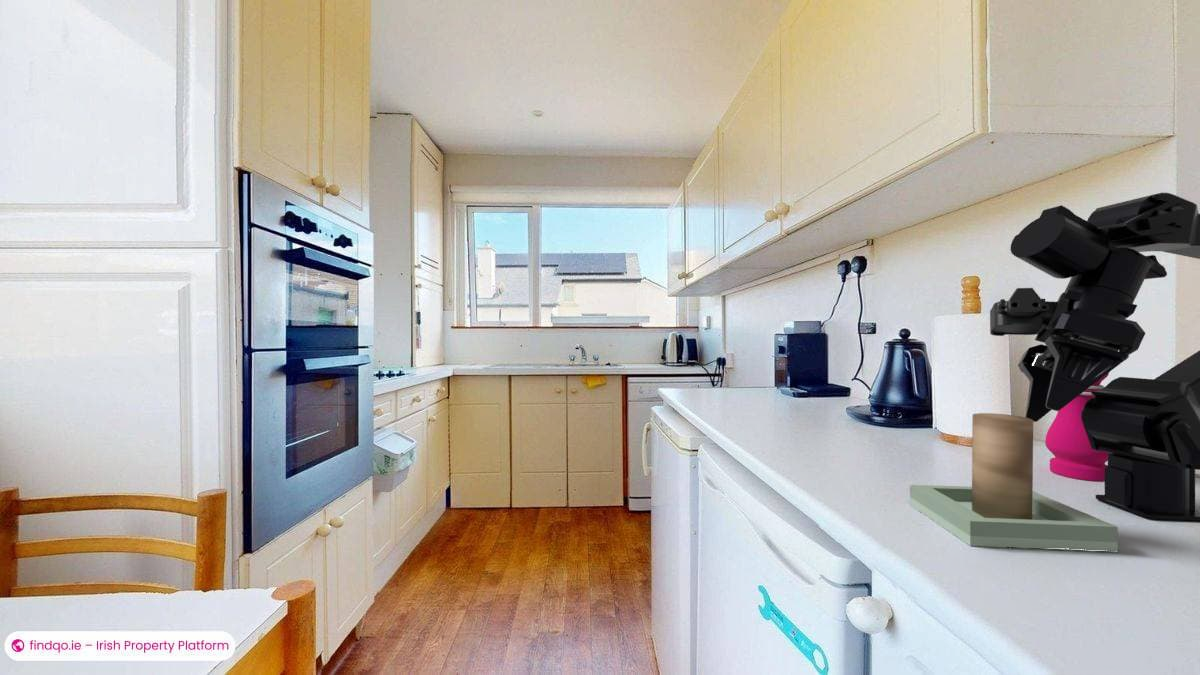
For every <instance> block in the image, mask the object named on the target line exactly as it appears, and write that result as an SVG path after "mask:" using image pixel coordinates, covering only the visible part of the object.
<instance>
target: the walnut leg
mask: <svg viewBox="0 0 1200 675" xmlns="http://www.w3.org/2000/svg"><path fill="white" fill-rule="evenodd" d="M971 425H972V426H971V427H972V428H971V429H972V433H971V434H972V436H971V437H972V438H971V439H972V440H971V442H972V446H971V450H972V452H971V453H972V454H971V456H972V457H971V467H972V468H971V487H972V511H974V512H975V513H977V514H979V515H981V516H982V517H984V518H1000V519H1026V520H1032V497H1033V491H1034V490H1033V488H1034V485H1033V484H1034V483H1033V482H1034V481H1033V480H1034V476H1033V474H1034V473H1033V472H1034V422H1033V420H1032V419H1029V418H1026V417H1025V416H1019V415H1014V414H1003V413H993V412H991V413H989V412H984V413H983V412H981V413H980V412H977V413H972V424H971Z"/></svg>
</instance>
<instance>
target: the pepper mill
mask: <svg viewBox="0 0 1200 675" xmlns="http://www.w3.org/2000/svg"><path fill="white" fill-rule="evenodd" d="M1109 374H1110V372H1109V373H1107V374H1106V375H1105V376H1104V377H1102V378H1101V379H1100V380H1098V381H1097V382H1096V383H1094V384H1093V385H1092V386H1091V387H1089V388H1088V389H1086V390H1085V391H1084V392H1083V393H1081V394H1080V395H1079V396H1077V397H1076V398H1075V399H1074V400H1072V401H1071V402H1070V403H1068V404H1067V405H1066V406H1065V407H1063V408H1062V409H1061V410H1059V411H1057V413H1056V416H1055V417H1054V419H1053V421H1052V422H1051V424H1050V426H1049V427H1048V429H1047V432H1046V435H1045V441H1044V444H1045V447H1046V448H1047V450H1048V451H1049V452H1050V453H1051V454H1052V455H1053V456H1054V457H1051V458H1050V459H1049V471H1050V472H1051V473H1053V474H1056V475H1058V476H1062V477H1066V478H1069V479H1074V480H1080V481H1081V480H1082V481H1090V482H1105V467H1106V466H1108V464H1106V463H1108V454H1114V453H1109V452H1105V451H1097V450H1093V449H1092V448H1091V445H1090V442H1089V439H1088V436H1087V433H1086V431H1085V428H1084V425H1083V422H1082V418H1081V414H1082V411H1083V409H1084V408H1083V407H1084V405H1085V404H1086V402H1088V401H1089V400H1090V399H1091V398H1092V397H1094V395H1093V394H1092V391H1098V390H1100V389H1102V388H1104V387H1105V386H1104V385H1102V382H1103V381H1104V380H1105V379H1107V378H1108V376H1109Z"/></svg>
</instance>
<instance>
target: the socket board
mask: <svg viewBox="0 0 1200 675" xmlns="http://www.w3.org/2000/svg"><path fill="white" fill-rule="evenodd" d="M909 505H910V506H911V507H913V508H915V509H916V510H918V512H920V513H921V514H923V515H924V516H926V517H927V518H929V519H930V520H932V521H933V522H935V523H936V524H937V525H939V526H941V527H942V528H943V529H945V530H946V531H948V532H949V533H951V534H952V535H953V536H955V537H956V538H958V539H959V540H961V541H963V542H964V543H965V544H967V545H968V544H969V545H968V546H970V545H971V546H970V547H985V546H986V548H987V547H989V548H1006V547H1010V549H1012V548H1011V547H1014V548H1013V549H1028V548H1065V549H1066V548H1069V549H1084V550H1085V549H1086V550H1105V551H1106V550H1107V551H1118V549H1119V548H1118V526H1116V525H1114V524H1112V523H1109V522H1107V521H1105V520H1102V519H1100V518H1098V517H1095V516H1092V515H1090V514H1088V513H1086V512H1083V511H1081V510H1079V509H1076V508H1074V507H1071V506H1069V505H1067V504H1065V503H1062V502H1059V501H1057V500H1054V499H1053V498H1050V497H1048V496H1045V495H1043V494H1041V493H1038V492H1036V491H1034V490H1033V497H1032V520H1026V519H1000V518H984V517H982V516H981V515H979V514H977V513H975V512H974V511H972V486H965V485H964V486H963V485H962V486H961V485H958V486H957V485H933V484H932V485H929V484H910V485H909ZM1015 547H1016V548H1015ZM1017 547H1018V548H1017ZM1019 547H1020V548H1019ZM1021 547H1022V548H1021Z"/></svg>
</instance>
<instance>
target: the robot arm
mask: <svg viewBox="0 0 1200 675" xmlns="http://www.w3.org/2000/svg"><path fill="white" fill-rule="evenodd" d="M1198 209H1199V208H1198V205H1197V203H1195V202H1193V201H1191V200H1188V199H1185V198H1184V197H1183V198H1182V197H1180V196H1178V195H1175V194H1174V193H1171V192H1170V193H1169V192H1158V193H1155V194H1151V195H1146V196H1141V197H1138V198H1133V199H1129V200H1125V201H1120V202H1117V203H1116V202H1115V203H1114V204H1113V203H1112V204H1109V205H1108V204H1107V205H1105V206H1100V207H1097V208H1096V209H1095V210H1094V211H1092V212H1091V214H1090V215H1089V217H1088V218H1087V220H1085V219H1084V218H1082V217H1081V216H1079V215H1077V214H1075V213H1074V212H1073V211H1071V210H1070V209H1069V208H1067V207H1066V206H1064V205H1057V206H1054V207H1051V208H1046V209H1044V210H1042V212H1041V214H1040V216H1039V217H1038V218H1036V219H1035V220H1033V221H1032V222H1030V223H1029V224H1027V225H1026V226H1024V227H1023V229H1022V230H1020V231H1019V233H1018V234H1016V235H1015V236H1014V237H1013V239H1012V240H1011V243H1010V248H1009V250H1010V252H1011V254H1012V255H1013V256H1014V257H1016V258H1018V259H1020V260H1021V261H1023V262H1025V263H1026V264H1028V265H1030V266H1032V267H1034V268H1036V269H1037V270H1040V271H1041V272H1043V273H1045V274H1047V275H1049V276H1051V277H1052V278H1055V279H1064V280H1065V279H1068V278H1069V281H1068V284H1067V285H1066V286H1065V290H1064V292H1061V294H1060V295H1059V297H1058V298H1057V301H1046V298H1041V296H1040V295H1039V294H1038V293H1037V292H1036V290H1035V289H1034V288H1032V287H1017V288H1016V289H1015V290H1014V291H1013V293H1012V295H1010V298H1009V299H1008V300H1006V299H1005V298H1004V299H1003V298H1002V299H1000V300H999V301H997V302H996V301H995V303H994V304H993V305H992V307H991V309H990V310H989V329H990V330H989V332H990V333H989V334H990V335H992V336H999V337H1004V336H1005V335H1008V336H1009V335H1011V336H1012V335H1013V336H1015V335H1019V336H1020V335H1021V336H1023V335H1024V336H1035V335H1036V336H1035V338H1034V340H1035V341H1037V342H1041V343H1040V344H1038V345H1034V346H1031V347H1028V348H1027V350H1026V351H1025V352H1024V353H1023V354H1022V356H1021V358H1020V360H1019V362H1018V364H1017V367H1018V368H1019V370H1020V372H1021V373H1023V374H1024V376H1025V377H1026V378H1027V379H1028V381H1029V386H1028V393H1027V394H1028V395H1027V402H1026V410H1025V416H1024V417H1026V418H1029V419H1032V420H1033V423H1035V422H1036V423H1037V422H1038V421H1040V420H1041V419H1043V417H1045V416H1046V415H1047V414H1048V413H1049V412H1051V411H1055V412H1058V411H1059V410H1061V409H1062V408H1063V407H1065V406H1066V405H1067V404H1068V403H1070V402H1071V401H1072V400H1074V399H1075V398H1076V397H1077V396H1079V395H1080V394H1081V393H1083V392H1084V391H1085V390H1086V389H1088V388H1089V387H1091V386H1092V385H1093V384H1094V383H1096V382H1097V381H1098V380H1100V379H1101V378H1102V377H1104V376H1105V375H1106V374H1107V373H1109V374H1110V373H1111V371H1113V370H1114V369H1115V368H1117V367H1118V366H1119V365H1121V364H1123V363H1124V362H1125V361H1126V360H1127V359H1129V357H1130V355H1131V354H1133V353H1135V352H1136V351H1138V350H1139V348H1140V345H1142V342H1143V340H1144V338H1145V335H1146V332H1145V330H1144V329H1143V328H1142V327H1141V326H1140V325H1139V323H1138V322H1137V321H1133V320H1129V319H1128V318H1129V317H1131V316H1132V315H1133V314H1134V313H1135V311H1136V309H1137V307H1138V304H1134V302H1135V299H1136V298H1137V296H1138V294H1139V291H1140V290H1141V288H1142V285H1143V283H1144V281H1145V280H1150V279H1162V278H1166V277H1167V276H1168V272H1167V270H1166V268H1165V266H1164V265H1162V264H1161V263H1160V262H1159V260H1158V259H1157V256H1156V255H1155V254H1152V255H1151V254H1149V255H1145V254H1143V253H1145V252H1163V253H1168V254H1173V255H1178V256H1183V257H1188V258H1192V259H1193V258H1194V259H1199V260H1200V213H1199V210H1198ZM1042 343H1043V344H1042ZM1092 394H1093V395H1094V397H1092V398H1091V399H1090V400H1089V401H1088V402H1086V404H1085V405H1084V407H1083V408H1084V409H1083V411H1082V414H1081V418H1082V422H1083V425H1084V428H1085V431H1086V433H1087V436H1088V439H1089V442H1090V445H1091V448H1092V449H1093V450H1097V451H1105V452H1109V453H1114V454H1108V461H1107V465H1108V466H1106V467H1105V481H1104V494H1095V499H1096V500H1098V501H1099V502H1100V501H1101V502H1103V503H1105V504H1108V505H1112V506H1114V507H1117V508H1119V509H1122V510H1125V511H1127V512H1129V513H1132V514H1135V515H1138V516H1140V517H1143V518H1147V519H1157V520H1181V521H1183V520H1184V521H1200V511H1197V510H1196V470H1200V350H1198V351H1196V352H1195V353H1193V354H1191V355H1190V356H1188V357H1187V358H1185V359H1183V360H1182V361H1181V362H1179V363H1177V364H1175V365H1174V366H1172V368H1170V369H1168V370H1167V371H1165V372H1163V373H1161V374H1160V375H1159V376H1157V377H1155V378H1154V379H1153V378H1141V377H1127V376H1126V377H1124V376H1119V377H1117V378H1113V379H1112V380H1111V381H1110V382H1109V383H1107V385H1105V386H1104V388H1102V389H1100V390H1098V391H1092Z"/></svg>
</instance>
